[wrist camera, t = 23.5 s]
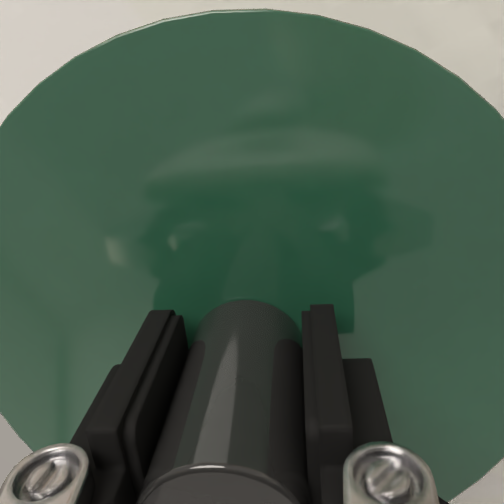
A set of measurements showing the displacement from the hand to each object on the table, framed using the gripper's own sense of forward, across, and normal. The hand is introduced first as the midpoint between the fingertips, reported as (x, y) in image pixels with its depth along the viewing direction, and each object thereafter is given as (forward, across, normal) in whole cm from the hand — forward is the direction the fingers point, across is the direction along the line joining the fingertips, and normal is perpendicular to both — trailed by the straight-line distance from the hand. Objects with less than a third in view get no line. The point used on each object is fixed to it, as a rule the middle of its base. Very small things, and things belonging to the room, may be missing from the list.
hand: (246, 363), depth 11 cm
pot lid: (+1, 0, 0) cm, 1 cm away
